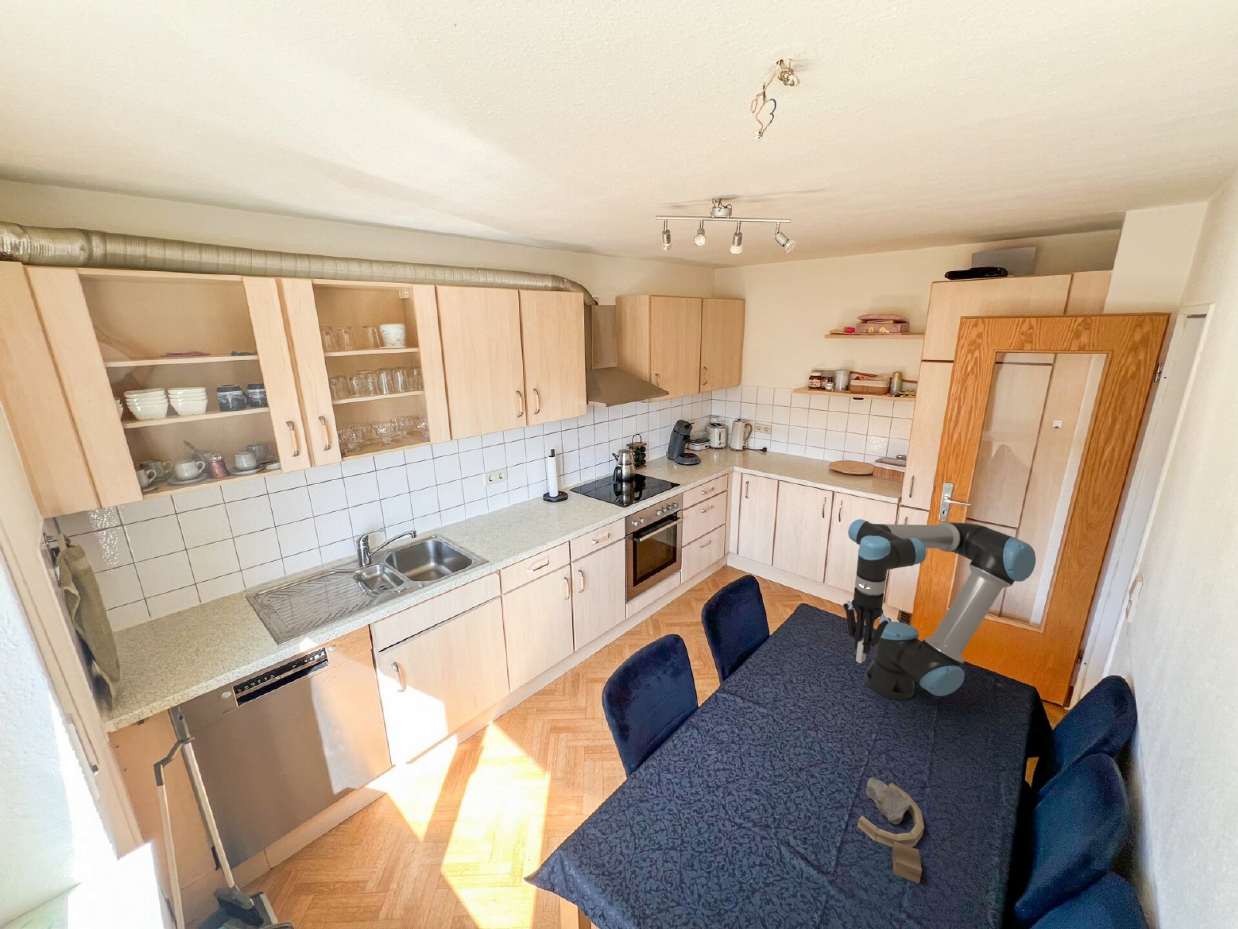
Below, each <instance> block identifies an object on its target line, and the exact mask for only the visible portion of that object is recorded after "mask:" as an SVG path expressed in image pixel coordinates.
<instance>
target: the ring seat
mask: <svg viewBox="0 0 1238 929" xmlns="http://www.w3.org/2000/svg"><path fill="white" fill-rule="evenodd" d="M888 787H890V788H894V789H897V790H899V792H900V793H901V794H902V795H904V796H906V797H907V798H908V800H910V801H911V804H910V807H909V809H907V811H908V813H909V814H910V815H911V817H912V820H913V825H914V827H913V828H912V829H911V830H910V832H903V833H894V832H893V833H892V832H889V831H886V830H885V829H884V830H883V829H881V828H878V827H877V826H876V825H874V824H873V823H872V822H870V821H869V820H868V819H867V818H866V817H865V816H864V815H861V816H860V817H859V818H858V820H857V825H856V827H857V828H858V829H860V830H861V831H862V832H863V833H864V834H866V835H867V836H868V837H869V838H871V839H872V840H873V841H875V842H876V843H879V844H881V845H882V844H883V845H885V846H888V847H890V848H893V845H894V841H895V842H898V843H901V844H904V845H906V846H909V847H912V848H914V847H915V846H916V845H917V843H918V842H919V841H920V839H921V838H922V837H923V834H924V829H925V824H924V818H923V813H922V810H921V809H920V808H919V806H918V805H917V803H916V802H915V801H914V800H913V798H912V797H911V796H910V794H908V793H907V792H905V791H904V790H903V789H901V788H900V787H898V786H897V785H895V784H894V783H892V782H891V783H889V785H888Z"/></svg>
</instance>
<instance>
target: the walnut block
mask: <svg viewBox="0 0 1238 929" xmlns="http://www.w3.org/2000/svg"><path fill="white" fill-rule="evenodd" d="M891 857H892V858H891V859H892V868H893V875H895V876H897V877H900V878H903V879H906V880H909V881H911V882H914V883H917V884H920V882H921V881H920V880H921V876H922V872H923V869H922V863H921V855H920V849H917V848H914V847H909V846H906V845H904V844H901V843H898V842H895V841H894V845H893V847H892V852H891Z"/></svg>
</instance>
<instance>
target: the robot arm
mask: <svg viewBox="0 0 1238 929" xmlns="http://www.w3.org/2000/svg"><path fill="white" fill-rule="evenodd" d="M847 535H848V537H849V539H850V540H851V541H852V542H854V543H856V545H858V546H859V547H858V551H857V552H858V554H857V564H856V574H855V582H854V586H855V587H854V589H853V591H854V592H853V599H852V601H850V600H847V601H846V602H845V603H843V605H842V606H843V609H844V611H845V616H846V622H847V628H848V629H847V630H848V635H849V636H850V637H853V639H854V650H856V657H855V661H856V662H857V663H859V664H862V663H863V662H864V661H866V658H867V657H866V656H867V654H869V653H870V652H871V651H870V650H871V647H875V648H874V654H873V655H874V656H873V660H872V662H870V664H869V666H868V667H867V669H866V671H865V683H866V684H867V685H868V687H869V688H871V690H873V691H874V692H876V693H877V694H879V695H880V696H882V697H886V698H887V699H892V700H896V701H898V700H899V701H903V700H905V701H906V700H909V699H911V698H912V697H913V696H914V695H915V688H916V687H915V686H916V685H915V682H916V683H917V684H918V685H919V686H920V687H921V688H922V689H924V690H926V691H928V693H930V694H932V695H934V696H937V697H943V696H944V697H945V696H947V695H950V694H952V693H954V692H955V691H957V690H958V689H959V688H960V687H961V686H962V684H964V683H963V682H964V681H965V671H964V670H963V668H961V667H962V666H963V664H964V662H965V661H964V659H963V656H962V655H963V653H964V650H965V649H966V648H967V646H968V644H969V643H970V641H971V640H972V638H973V636H974V635H975V633H976V631H977V630H978V628H979V627H980V625H981V624H982V622H983V621H984V619H985V617H986V616H987V614H988V612H989V611H990V609H991V608H992V606H993V604H994V603H995V601H996V600H997V598H998V596H999V595H1000V593H1001V592H1002V590H1003V589H1004V588H1008V587H1009V588H1010V587H1013V584H1014V583H1015V582H1020V583H1021V582H1024V581H1026V580H1027V579H1029V578H1030V576H1032V574H1033V572H1034V570H1035V567H1036V562H1037V560H1036V551H1035V550H1034V548H1033V546H1031V544H1029V543H1027V542H1025V541H1023V540H1020V539H1019V538H1017V537H1015V536H1011V535H1009V534H1006V533H1003V532H1001V531H998V530H994V529H992V528H989V527H987V526H985V525H980V524H978V523H977V524H975V523H969V522H956V521H955V522H951V521H950V522H949V521H947V522H945V521H943V522H939V523H937V524H897V523H896V524H894V523H893V524H892V523H891V524H890V523H887V524H886V523H871V522H870V521H868V520H866V519H865V520H864V519H861V518H860V519H855V520H853V522H851V523H850V525H849V527H848V531H847ZM927 549H938V550H940V551H942V552H948V553H950V552H951V553H954V554H957V555H959V556H961V557H963V558H966V559H968V560H970V563H969V564H968V566H969V569H970V574H969V576H968V578H966V580H965V582H964V584H963V585H962V588H960V589H959V592H958V593H957V595H956V597H955V598H954V599H953V602H952V603H951V605H950V607H949V608H948V610H947V611H946V613H945V615H944V616H943V618H942V620H941V621H940V622H939V624H938V626H937V628H936V629H935V631H934V632H933V634H932V635H931V636H929V637H924V638H923V639H922V640H920V639H919V636H920V635H919V631H918V629H917V628H915V627H914V626H912V625H910V624H908V623H904V622H899V621H892V618H890V617H886V615H884V609H883V605H884V598H885V597H884V596H885V590H886V583H887V582H886V581H887V576H888V570H894V569H899V568H905V567H906V568H907V567H913V566H914V565H918V564H919V565H920V564H922V563H923V562H924V561H925V560H926V557H927ZM878 618H879V624H878V625H877V628H876V629H875V632H874V627H875V625H874V624H875V622H876V620H877V619H878Z"/></svg>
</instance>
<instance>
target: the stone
mask: <svg viewBox="0 0 1238 929" xmlns="http://www.w3.org/2000/svg"><path fill="white" fill-rule="evenodd" d="M865 794H866V796H867V797H868V799H871V800H872V801H874V804H875V805H876V808H877V809H878V811H879V812H880V814H881V815H882V816H884V817H885V818H886V819H887V820H888V822H889V823H890V824H893V825H899V824H900V823H901V822H902V820H904V814H905V813H906V812H907V811H908V810H907V809H909V807H910V804H911V801H910V800H908V798H907V797H906V796H904V795H902V794H901V793H900V792H899V790H897V789H894V788H890V787H889V785H887V784H886V783H885V782H883V781H882V780H880V779H877V778H875V777H869V779H868V781H867V784H866V790H865Z"/></svg>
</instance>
